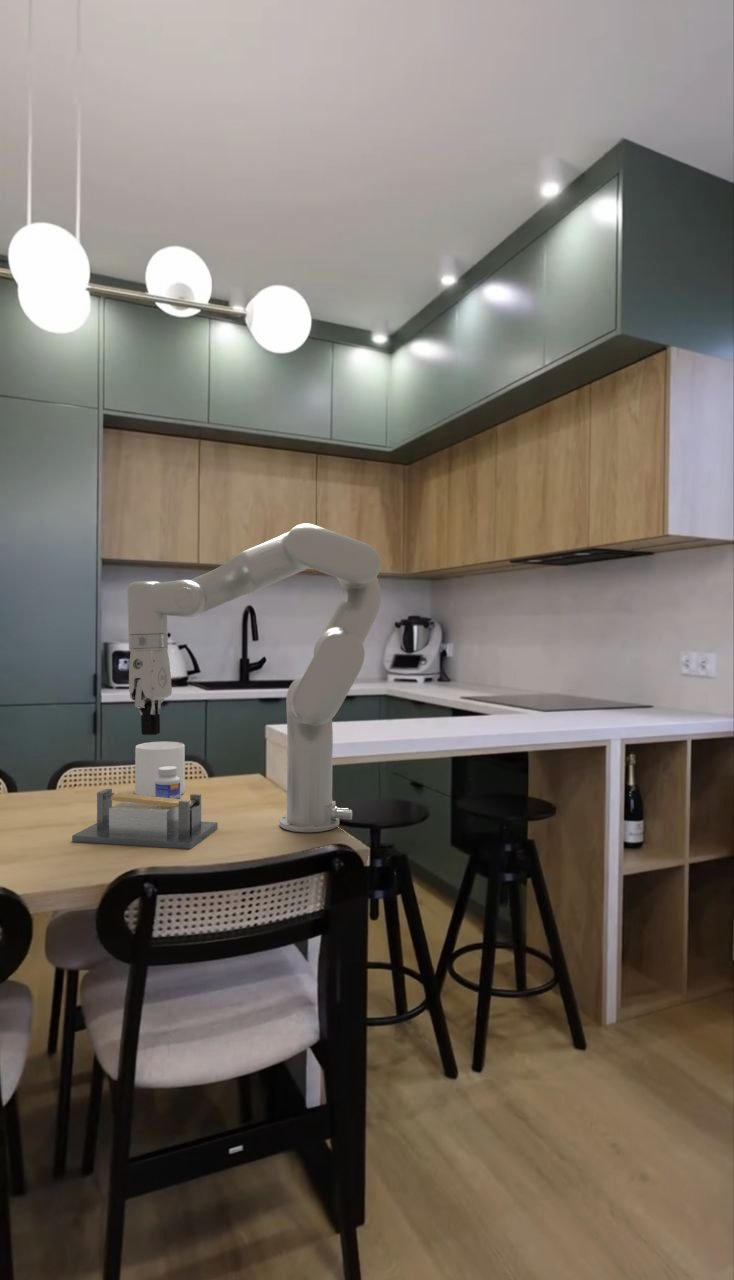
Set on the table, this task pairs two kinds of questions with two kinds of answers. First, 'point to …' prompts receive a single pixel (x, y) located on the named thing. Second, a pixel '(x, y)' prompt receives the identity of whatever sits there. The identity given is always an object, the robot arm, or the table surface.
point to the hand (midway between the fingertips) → (150, 733)
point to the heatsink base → (144, 839)
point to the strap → (149, 799)
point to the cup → (157, 764)
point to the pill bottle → (167, 783)
